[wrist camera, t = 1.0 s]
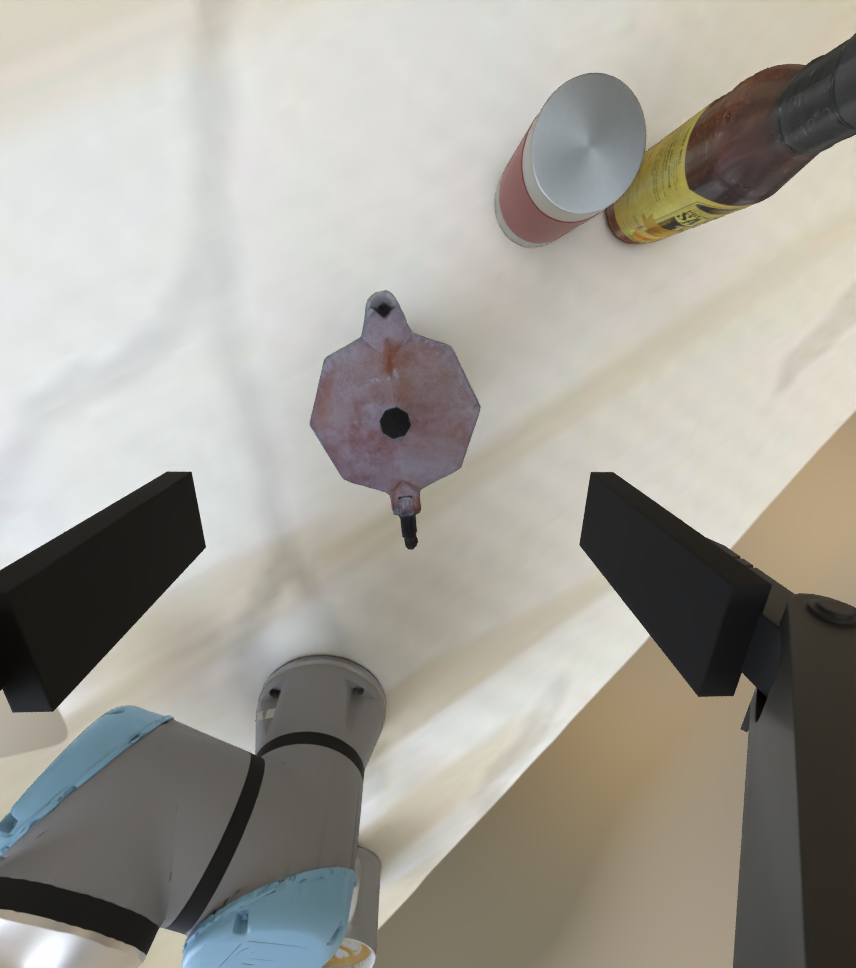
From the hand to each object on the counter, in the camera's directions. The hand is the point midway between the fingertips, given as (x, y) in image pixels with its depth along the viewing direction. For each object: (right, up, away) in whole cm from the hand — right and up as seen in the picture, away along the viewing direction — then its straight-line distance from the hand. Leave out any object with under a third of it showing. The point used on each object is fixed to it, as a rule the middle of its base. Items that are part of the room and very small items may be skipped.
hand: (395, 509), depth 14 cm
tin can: (+10, +24, +21) cm, 33 cm away
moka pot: (-1, +9, +26) cm, 28 cm away
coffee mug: (-10, -56, +49) cm, 75 cm away
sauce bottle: (+19, +24, +21) cm, 38 cm away
